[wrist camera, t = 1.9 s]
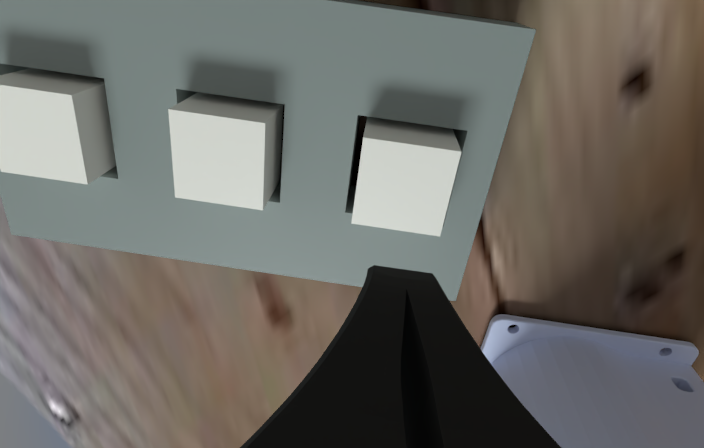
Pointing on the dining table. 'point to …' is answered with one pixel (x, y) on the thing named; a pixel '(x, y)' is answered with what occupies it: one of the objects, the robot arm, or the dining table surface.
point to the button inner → (405, 176)
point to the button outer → (55, 126)
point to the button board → (299, 124)
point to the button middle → (226, 149)
